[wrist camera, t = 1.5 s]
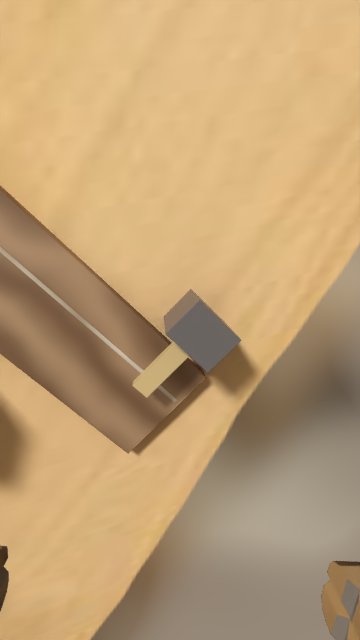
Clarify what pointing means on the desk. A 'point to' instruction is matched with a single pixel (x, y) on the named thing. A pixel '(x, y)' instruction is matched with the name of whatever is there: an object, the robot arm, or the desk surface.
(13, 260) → the plank
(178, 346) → the gray-headed mallet
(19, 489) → the desk surface
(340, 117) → the desk surface
